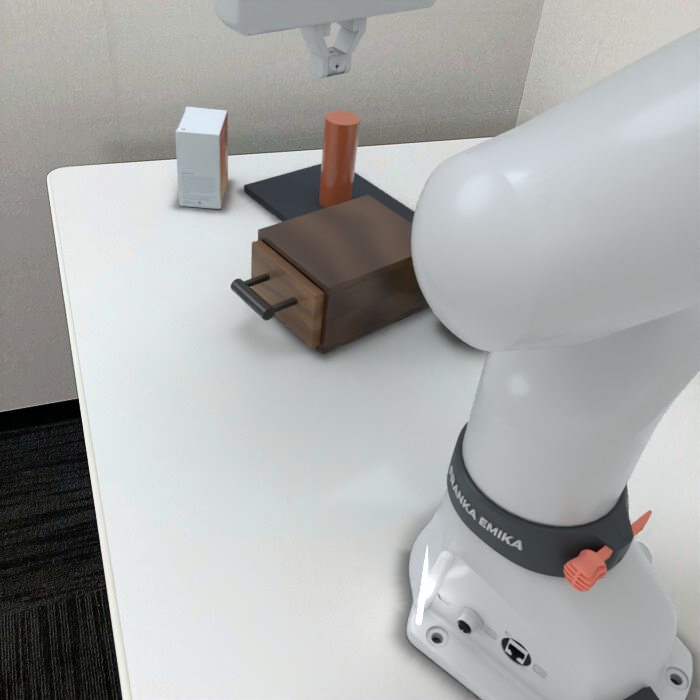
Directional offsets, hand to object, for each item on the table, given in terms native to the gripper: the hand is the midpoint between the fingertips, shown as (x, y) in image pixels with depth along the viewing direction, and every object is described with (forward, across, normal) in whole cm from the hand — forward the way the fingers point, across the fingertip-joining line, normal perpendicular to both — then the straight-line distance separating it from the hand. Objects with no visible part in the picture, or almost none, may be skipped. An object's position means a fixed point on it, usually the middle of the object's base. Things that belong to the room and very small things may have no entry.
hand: (329, 73), depth 64 cm
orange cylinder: (+28, +20, +21) cm, 40 cm away
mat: (+29, +20, +21) cm, 41 cm away
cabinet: (+29, +8, +4) cm, 30 cm away
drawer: (+28, +4, +4) cm, 29 cm away
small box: (+29, +7, +33) cm, 45 cm away
